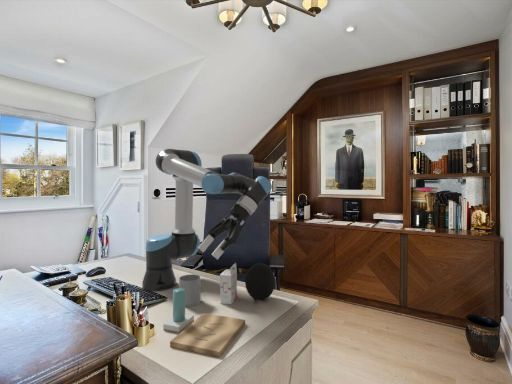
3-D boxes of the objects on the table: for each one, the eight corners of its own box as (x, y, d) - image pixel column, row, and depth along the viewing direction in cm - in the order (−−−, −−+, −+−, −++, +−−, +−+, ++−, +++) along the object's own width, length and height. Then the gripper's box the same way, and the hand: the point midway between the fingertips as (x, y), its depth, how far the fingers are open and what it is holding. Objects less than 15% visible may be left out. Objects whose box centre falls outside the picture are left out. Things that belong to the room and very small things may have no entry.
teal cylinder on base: (163, 330, 95) (163, 293, 94) (179, 318, 103) (179, 284, 103) (179, 333, 93) (178, 296, 92) (193, 320, 101) (193, 286, 101)
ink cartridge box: (226, 295, 124) (225, 261, 124) (237, 296, 123) (237, 262, 123) (219, 303, 116) (219, 267, 115) (231, 304, 115) (231, 268, 114)
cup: (189, 308, 111) (189, 282, 111) (174, 303, 116) (174, 278, 116) (204, 300, 119) (204, 276, 118) (190, 296, 123) (190, 273, 123)
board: (170, 346, 85) (170, 341, 85) (203, 317, 104) (203, 312, 104) (219, 357, 80) (219, 351, 80) (245, 324, 99) (245, 319, 99)
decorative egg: (245, 306, 113) (245, 268, 113) (244, 294, 126) (244, 259, 125) (276, 305, 114) (277, 267, 114) (272, 293, 127) (273, 259, 126)
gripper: (266, 218, 102) (228, 267, 95) (234, 214, 124) (202, 253, 116) (253, 204, 100) (213, 253, 92) (223, 202, 121) (188, 241, 113)
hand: (207, 253), depth 104 cm, fingers open, 13 cm apart
